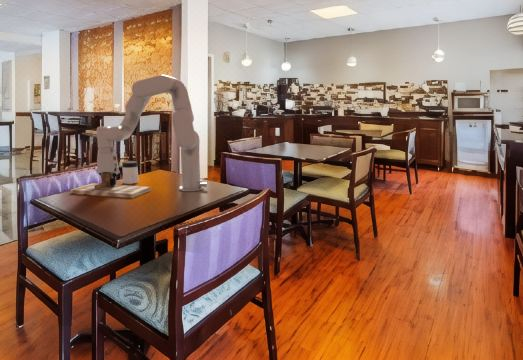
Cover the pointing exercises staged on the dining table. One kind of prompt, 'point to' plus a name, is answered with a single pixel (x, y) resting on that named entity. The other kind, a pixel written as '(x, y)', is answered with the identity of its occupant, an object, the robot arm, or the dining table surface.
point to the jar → (130, 172)
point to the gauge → (105, 181)
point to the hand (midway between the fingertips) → (109, 184)
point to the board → (112, 190)
